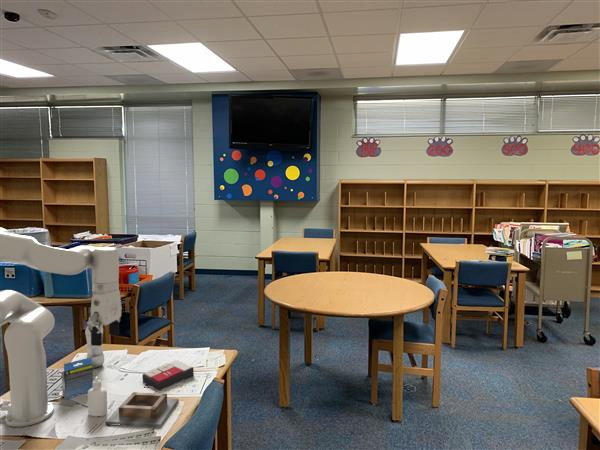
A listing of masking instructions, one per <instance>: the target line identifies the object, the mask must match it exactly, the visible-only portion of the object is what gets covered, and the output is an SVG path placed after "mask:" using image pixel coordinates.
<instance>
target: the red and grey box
mask: <svg viewBox="0 0 600 450" xmlns="http://www.w3.org/2000/svg"><path fill="white" fill-rule="evenodd" d="M194 376H195V372H194V367H192V366H191V365H189V364H186V363H184V362H182V361H180V360H178V359H176V360H175V359H174V360H173V361H170V362H169V363H165V364H162V365H159V366H158V367H156V368H152V369H151V370H148V371H146V372H144V374H142V382H143V383H144V384H146V385H147V386H150V387H152V388H153V389H155V390H157V391H162V390H164V389H167V388H169V387H171V386H173V385H176V384H178V383H180V382H182V381H186V380H188V379H190V378H194Z"/></svg>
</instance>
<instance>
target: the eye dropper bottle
mask: <svg viewBox="0 0 600 450" xmlns="http://www.w3.org/2000/svg"><path fill="white" fill-rule="evenodd" d="M92 383H93V388H91V389H90V390H89V391H88V392H87V414H88V415H89V416H92V417H97V416H100V417H104V416H105V415H106V414H107V413H108V396H107V395H108V393H107V390H106V389H105V388H104V387H102V380H101V379H99V376H95V378H94V380H93V382H92Z"/></svg>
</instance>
